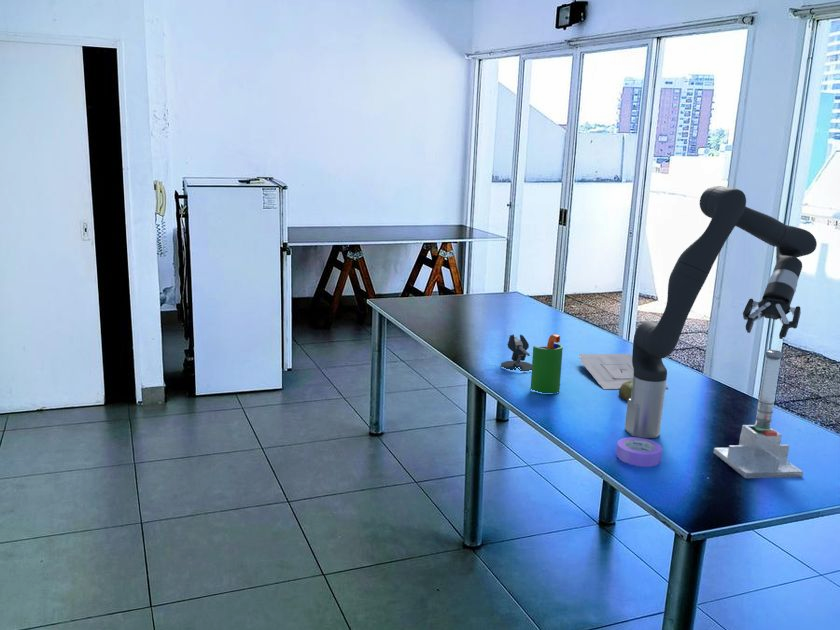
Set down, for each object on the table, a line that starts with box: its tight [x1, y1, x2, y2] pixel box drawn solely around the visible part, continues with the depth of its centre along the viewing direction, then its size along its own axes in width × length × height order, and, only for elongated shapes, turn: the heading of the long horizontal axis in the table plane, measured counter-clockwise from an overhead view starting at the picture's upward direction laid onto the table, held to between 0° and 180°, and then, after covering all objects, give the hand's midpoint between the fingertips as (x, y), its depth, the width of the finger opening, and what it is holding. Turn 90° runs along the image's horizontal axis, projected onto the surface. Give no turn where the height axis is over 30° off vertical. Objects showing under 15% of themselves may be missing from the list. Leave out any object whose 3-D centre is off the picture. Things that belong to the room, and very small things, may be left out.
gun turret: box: [500, 334, 532, 371], centre depth 276 cm, size 13×20×13 cm, turn 13°
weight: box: [618, 380, 633, 402], centre depth 253 cm, size 14×13×5 cm
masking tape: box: [615, 436, 663, 468], centre depth 205 cm, size 12×12×4 cm
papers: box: [578, 353, 669, 390], centre depth 276 cm, size 24×30×4 cm
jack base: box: [713, 424, 804, 479], centre depth 203 cm, size 17×17×11 cm
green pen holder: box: [530, 333, 564, 394], centre depth 255 cm, size 10×9×20 cm
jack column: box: [753, 349, 783, 434], centre depth 199 cm, size 4×4×23 cm
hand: (764, 334), depth 211 cm, fingers open, 8 cm apart
